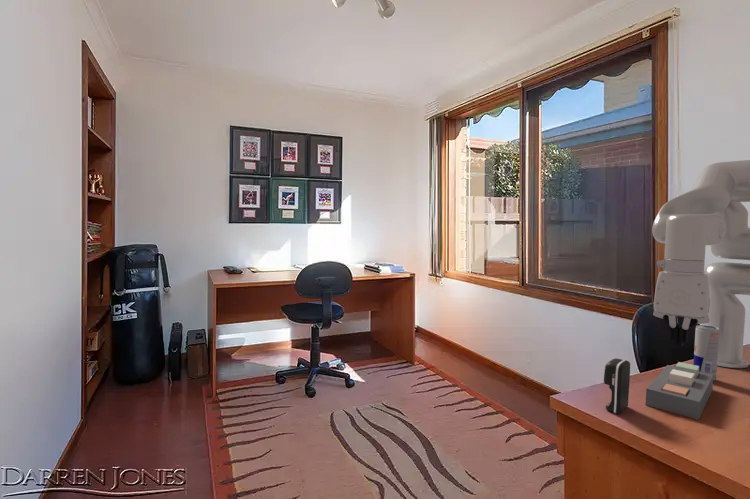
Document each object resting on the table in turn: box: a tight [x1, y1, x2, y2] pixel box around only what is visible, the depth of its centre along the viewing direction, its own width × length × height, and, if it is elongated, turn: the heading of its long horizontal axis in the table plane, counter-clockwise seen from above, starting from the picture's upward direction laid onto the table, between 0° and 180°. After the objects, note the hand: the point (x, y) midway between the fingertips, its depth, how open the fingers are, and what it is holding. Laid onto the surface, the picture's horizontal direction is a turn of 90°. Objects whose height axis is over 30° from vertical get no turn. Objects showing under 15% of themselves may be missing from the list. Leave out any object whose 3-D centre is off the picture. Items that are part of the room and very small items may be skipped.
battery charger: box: [603, 358, 631, 415], centre depth 95 cm, size 7×4×11 cm, turn 132°
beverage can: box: [692, 324, 719, 381], centre depth 114 cm, size 5×5×15 cm
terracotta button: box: [662, 384, 689, 396], centre depth 96 cm, size 4×4×3 cm
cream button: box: [669, 369, 694, 387], centre depth 102 cm, size 4×4×3 cm
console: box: [645, 364, 714, 421], centre depth 102 cm, size 24×10×4 cm, turn 135°
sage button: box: [675, 361, 699, 378], centre depth 107 cm, size 4×4×3 cm
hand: (678, 344), depth 96 cm, fingers closed
